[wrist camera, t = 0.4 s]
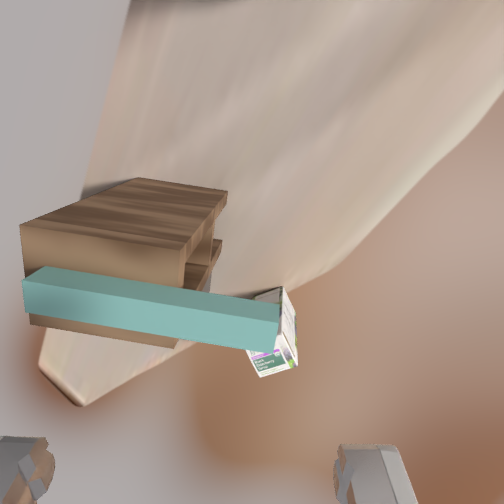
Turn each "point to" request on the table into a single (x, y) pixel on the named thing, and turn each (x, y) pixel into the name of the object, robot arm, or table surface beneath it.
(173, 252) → the walnut stand
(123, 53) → the table surface
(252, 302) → the teal tile bar
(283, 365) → the syrup box
